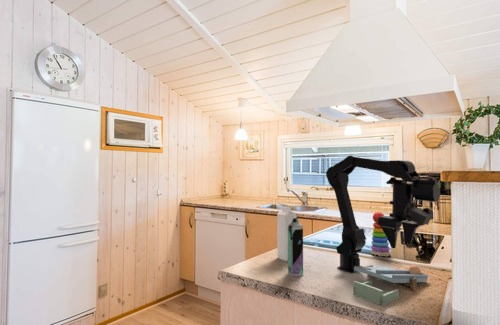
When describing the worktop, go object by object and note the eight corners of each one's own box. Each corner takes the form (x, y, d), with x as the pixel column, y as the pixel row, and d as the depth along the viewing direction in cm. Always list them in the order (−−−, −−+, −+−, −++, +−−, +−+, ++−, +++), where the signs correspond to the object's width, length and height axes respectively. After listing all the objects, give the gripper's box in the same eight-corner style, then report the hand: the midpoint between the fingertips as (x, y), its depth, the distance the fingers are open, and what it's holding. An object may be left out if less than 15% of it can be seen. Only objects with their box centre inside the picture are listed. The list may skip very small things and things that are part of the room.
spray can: (300, 277, 104) (299, 219, 105) (285, 274, 107) (285, 218, 108) (305, 272, 109) (304, 217, 110) (291, 270, 112) (290, 216, 113)
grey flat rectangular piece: (353, 270, 100) (354, 262, 101) (387, 270, 111) (387, 263, 111) (394, 283, 89) (395, 274, 89) (427, 282, 100) (427, 274, 100)
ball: (406, 273, 101) (407, 262, 102) (411, 275, 103) (412, 264, 104) (416, 276, 98) (418, 265, 99) (421, 278, 100) (423, 267, 101)
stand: (367, 275, 106) (367, 266, 106) (371, 274, 107) (371, 264, 107) (412, 290, 93) (412, 279, 93) (416, 288, 94) (416, 278, 94)
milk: (285, 261, 123) (284, 207, 124) (277, 257, 128) (276, 206, 129) (297, 259, 126) (296, 206, 126) (288, 255, 131) (288, 205, 132)
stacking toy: (384, 252, 137) (384, 210, 137) (393, 257, 129) (393, 213, 129) (367, 252, 137) (367, 211, 137) (375, 257, 129) (375, 213, 129)
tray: (353, 294, 90) (353, 281, 90) (370, 288, 95) (370, 275, 95) (381, 305, 82) (381, 291, 82) (398, 298, 87) (398, 284, 87)
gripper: (411, 203, 86) (410, 257, 86) (442, 199, 97) (441, 248, 97) (376, 199, 96) (375, 247, 96) (408, 196, 106) (407, 240, 106)
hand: (401, 246), depth 98 cm, fingers open, 9 cm apart
